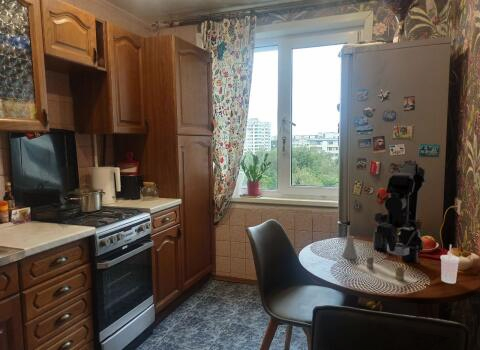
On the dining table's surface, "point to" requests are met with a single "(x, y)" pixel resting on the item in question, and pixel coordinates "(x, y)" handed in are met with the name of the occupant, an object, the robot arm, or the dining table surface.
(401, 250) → the steel ring
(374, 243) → the supplement bottle
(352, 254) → the flask
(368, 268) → the base board
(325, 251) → the dining table surface
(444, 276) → the beverage cup
